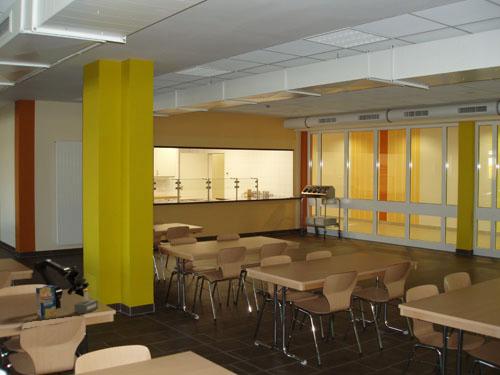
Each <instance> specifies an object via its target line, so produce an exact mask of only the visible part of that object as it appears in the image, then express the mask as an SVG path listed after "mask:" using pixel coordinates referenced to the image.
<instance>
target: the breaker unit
mask: <svg viewBox="0 0 500 375" xmlns="http://www.w3.org/2000/svg"><path fill="white" fill-rule="evenodd" d="M98 304H99V301H98V300H97V299H88V300H87V301H84V300H82V301H79V302H76V303H74V305H73V306H74V313H78V314H88V313H89V311H90V312H91V311H94V310H96V309H98V308H99V305H98Z"/></svg>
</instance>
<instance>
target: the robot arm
mask: <svg viewBox="0 0 500 375" xmlns="http://www.w3.org/2000/svg"><path fill="white" fill-rule="evenodd" d="M47 267H49V268H51V269H53V270H55V271H56V272H57V273H58V275H59V276H61V277H64V279H63V281H64V282H66V281H67V282H68V283H69V287H70V288H69V289H68V290H67V295H69V296H70V295H72V294H75V295H78V296H80V297H83V298H84V292H83V289H86V288H87V289H88V287H89V286H90V284H89V282H86V281H87V278H86V277H85V276H83V277H81V278H80V279H77V277H78V276H79V275H80V274H81V273H82V269H81V268H79V267H78V266H72V268H70V267H68V266H63V265H60V264H58V263H57V262H55V261H52V260H51V259H50V258H49V259H44V260H43V261H39V262H35V263H34V265H33V269H34V270H35V272H36V273H38V274H40V276H41V277H42V279H43V281H44V282H45V284H46V286H47V285H52V286H55V304H56V309H60V308H62V307H61V305H62V304H61V302H62V301H61V300H60V299H62V296H63V294H64V293H63V290H62V288H61V286H59V285H58V286H57V285H56V283H55V282H54V281H53V279H52V277H51V275H50V274H49V272H48V270H47ZM73 292H74V293H73Z"/></svg>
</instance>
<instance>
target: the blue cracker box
mask: <svg viewBox="0 0 500 375" xmlns="http://www.w3.org/2000/svg"><path fill="white" fill-rule="evenodd" d="M35 295H36V296H35V298H36V310H37V317H36V318H38V319H40V320H45V319H49V318H54V317H55V318H56V317H57V308H56V304H55V286H52V285H47V284H46V285H43V286H38V287H35Z"/></svg>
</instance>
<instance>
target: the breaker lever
mask: <svg viewBox="0 0 500 375" xmlns="http://www.w3.org/2000/svg"><path fill="white" fill-rule="evenodd" d="M83 292H84V297H83V301H87V300H89V292H90V289H89V288H88V287H87V288H86V289H83Z"/></svg>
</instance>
